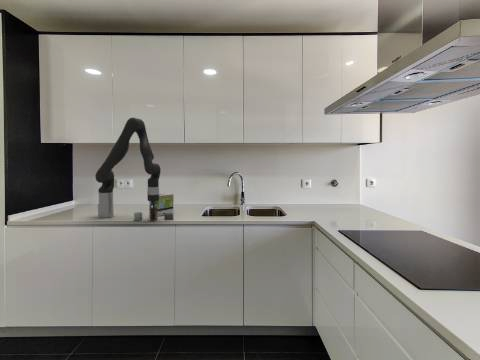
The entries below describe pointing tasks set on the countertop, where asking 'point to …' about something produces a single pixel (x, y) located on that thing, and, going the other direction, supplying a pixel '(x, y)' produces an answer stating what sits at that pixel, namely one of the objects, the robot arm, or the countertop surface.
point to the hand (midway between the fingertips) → (153, 218)
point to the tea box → (164, 204)
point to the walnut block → (155, 216)
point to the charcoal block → (168, 216)
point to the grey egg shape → (138, 216)
